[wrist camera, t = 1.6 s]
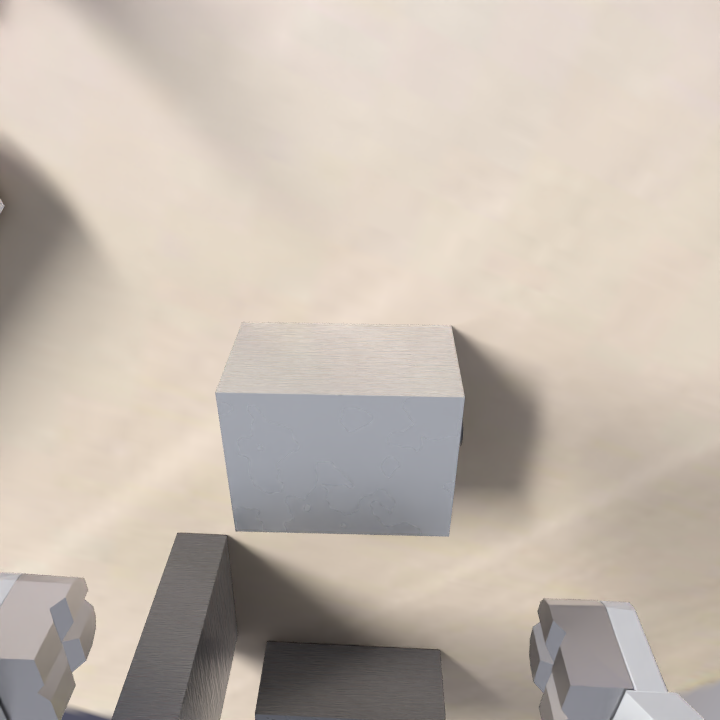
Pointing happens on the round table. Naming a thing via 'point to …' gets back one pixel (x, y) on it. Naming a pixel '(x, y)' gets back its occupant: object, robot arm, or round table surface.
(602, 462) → the round table surface
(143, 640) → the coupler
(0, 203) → the crystal
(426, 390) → the brushed aluminum block
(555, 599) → the robot arm
